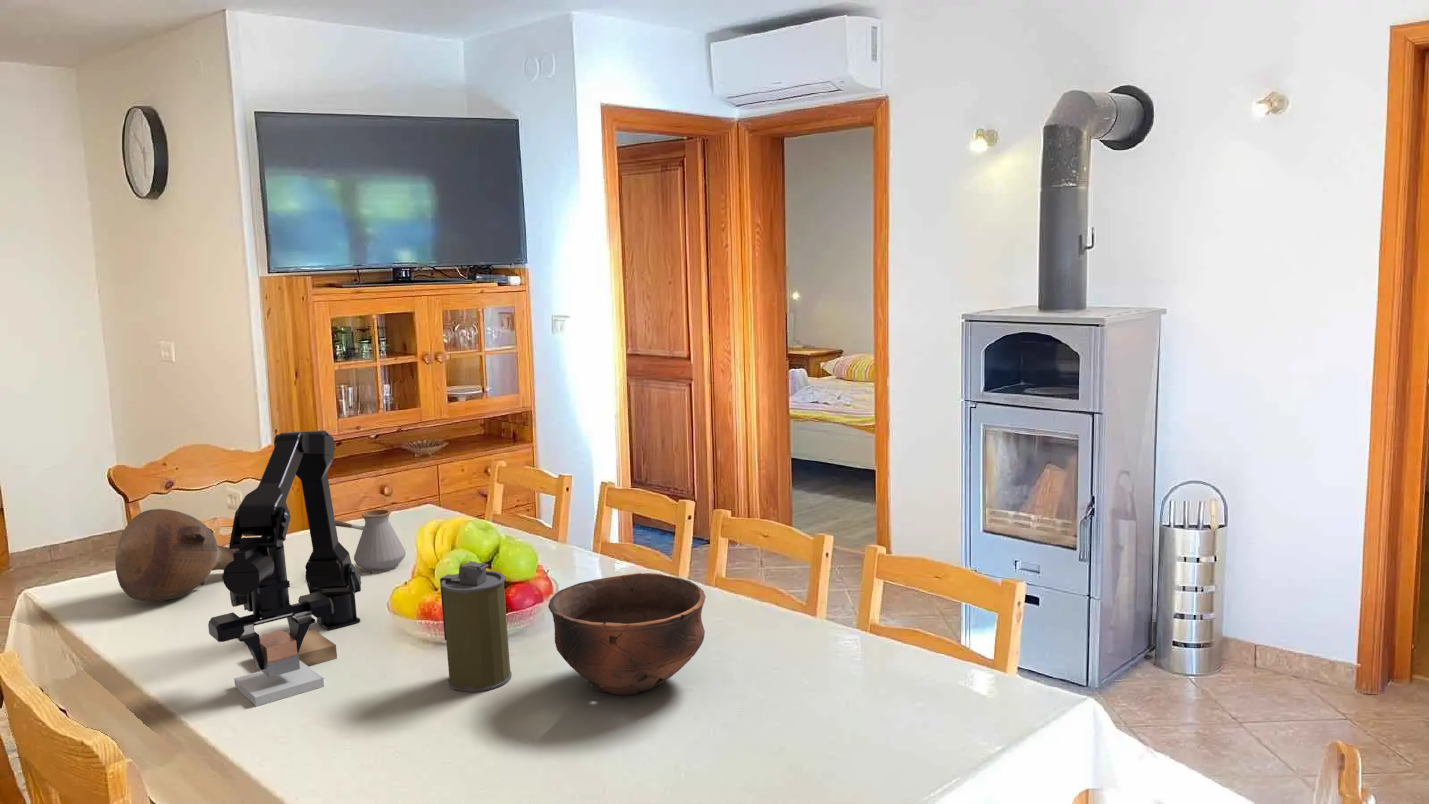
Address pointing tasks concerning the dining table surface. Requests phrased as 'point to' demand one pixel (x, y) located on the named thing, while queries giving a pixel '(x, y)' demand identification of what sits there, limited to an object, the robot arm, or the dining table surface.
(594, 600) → the bowl
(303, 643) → the walnut plinth
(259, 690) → the ceramic tile
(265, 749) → the dining table surface
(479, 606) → the canister
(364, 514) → the coffee pot
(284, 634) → the housing
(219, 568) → the jug
